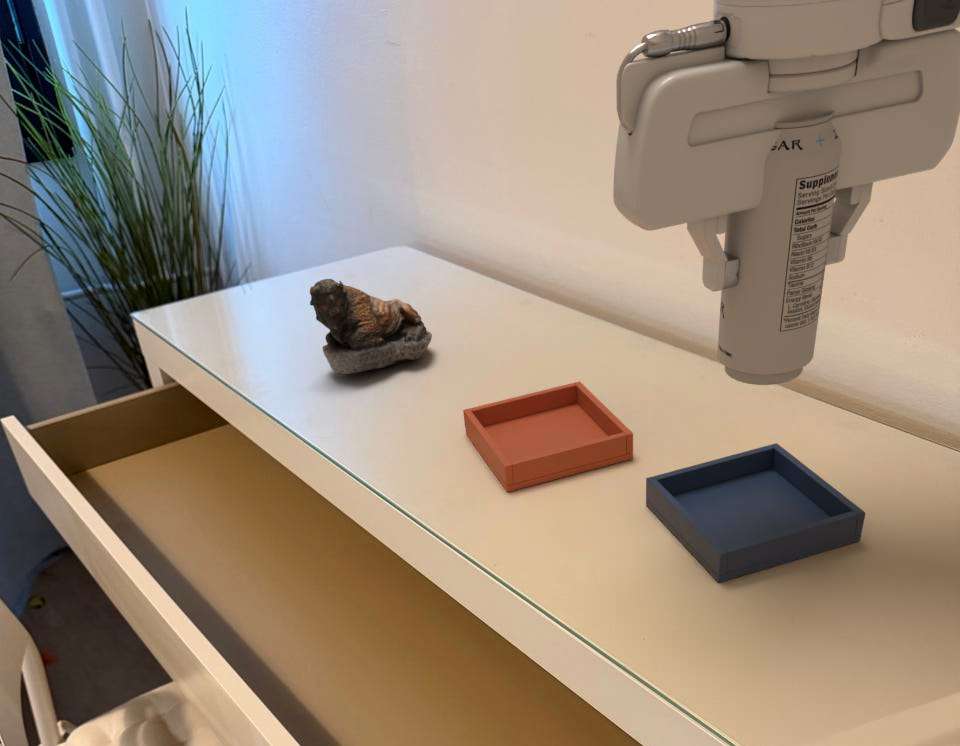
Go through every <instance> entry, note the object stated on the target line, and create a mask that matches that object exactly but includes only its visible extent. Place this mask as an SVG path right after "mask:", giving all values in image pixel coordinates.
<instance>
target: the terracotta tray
mask: <svg viewBox="0 0 960 746" xmlns="http://www.w3.org/2000/svg"><path fill="white" fill-rule="evenodd" d="M462 413H463V421H464V428H465V435H466V436H467V437H468V439H469V440H470V441H471V443H472V445H473V446H474V448H475V449H476V450H477V452H478V453H479V454H480V456H481V457H482V458H483V460H484V461H485V462H486V465H488V467H489V468H490V469H491V471H492V472H493V474H494V475H495V477H496V478H497V479H498V481H499V482H500V484H501V485H502V487H503V488H504V489H505V491H506V492H507V493H509V492H513V491H517V490H520V489H524V488H528V487H532V486H536V485H539V484H540V485H541V484H544V483H547V482H551V481H555V480H559V479H563V478H566V477H569V476H573V475H577V474H581V473H585V472H589V471H592V470H597V469H600V468H603V467H607V466H611V465H615V464H619V463H622V462H626V461H630V460H633V459H634V432H632V431H631V430H630V429H629V427H627V425H625V424H624V423H623V422H622V421H621V420H620V419H619V418H618V417H617V416H616V415H615V414H614V413H613V412H612V411H611V410H610V409H609V408H608V407H606V405H605V404H603V402H601V401H600V400H599V398H597V397H596V396H595V394H593V393H592V392H591V391H590V390H589V389H588V388H587V387H586V386H585V384H583V383H582V382H581V381H576V382H571V383H566V384H564V385H563V384H562V385H559V386H555V387H551V388H547V389H543V390H539V391H535V392H531V393H527V394H526V393H525V394H522V395H519V396H514V397H511V398H507V399H502V400H498V401H493V402H490V403H486V404H482V405H478V406H473V407H470V408H465V409H463V410H462Z"/></svg>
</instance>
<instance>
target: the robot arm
mask: <svg viewBox="0 0 960 746" xmlns="http://www.w3.org/2000/svg"><path fill="white" fill-rule="evenodd" d="M712 12H713V13H712V14H713V15H712V20H708V21H703V22H699V23H694V24H690V25H687V26H685V27H682V28H677V29H672V30H669V29H659V30H655V31H652V32H648V33H647V34H644V35H643V36H642V37H641V38H642V39H641V41H640V43H639V44H637V45H635V46H634V47H633V48H632V49H630V50H629V52H627V54H626V55H625V56H624V58H623V60H622V62H621V64H620V65H619V67H618V70H617V73H616V81H615V82H616V84H615V85H616V113H617V117H618V120H619V124H618V130H617V138H616V144H615V147H616V148H615V157H614V168H613V184H612V185H613V186H612V187H613V188H612V190H613V191H612V194H613V195H612V198H613V203H614V204H613V205H614V206H615V208H616V210H617V211H618V212H619V213H620V215H622V217H623V218H624V219H626V221H628V222H630V223H631V224H633V225H634V226H636V227H638V228H640V229H642V230H645V231H648V232H650V231H657V230H662V229H666V228H670V227H675V226H679V225H684V224H686V230H687V232H688V234H689V235H690V237H691V239H692V241H693V243H694V245H695V246H696V248H697V250H698V253H700V255H701V256H702V275H701V279H702V284H703V286H704V287H705V288H706V289H707V290H710V291H711V292H714V293H715V292H721V290H723V289H727V288H731V287H735V286H737V284H738V276H737V275H736V274H737V273H738V271H739V264H740V259H739V258H737V257H735V256H732V255H730V254H729V253H728V252H726V251H724V248H723V247H722V244H721V242H720V240H719V238H718V236H717V235H722V234H725V231H726V222H727V214H730V213H735V212H739V211H744V210H748V209H753V208H756V207H758V206H759V205H760V202H761V198H762V195H763V182H764V167H765V160H766V158H767V156H768V154H769V152H770V151H771V149H772V147H773V146H774V144H775V142H776V141H777V139H778V137H779V135H780V133H781V129H775V128H774V124H775V123H786V122H790V121H795V120H800V119H805V118H810V117H815V116H820V115H826V114H829V115H830V114H831V113H832V112H833V111H834V116H833V118H832V119H831V123H832V126H833V128H834V130H835V131H836V133H837V135H838V137H839V139H840V142H841V145H842V147H841V154H840V161H839V169H838V176H837V184H836V191H835V199H834V206H833V213H832V221H831V228H830V236H829V243H828V251H827V258H826V265H825V267H826V266H830V265H834V264H839V263H842V262H843V261H844V259H845V257H846V251H847V245H848V244H847V243H848V238H849V234H851V232H852V231H853V230H854V228H855V226H856V225H857V223H858V221H859V220H860V218H861V217H862V215H863V213H864V212H865V210H866V209H867V207H868V205H869V204H870V202H871V197H872V192H873V185H874V183H876V182H880V181H885V180H889V179H894V178H898V177H903V176H908V175H912V174H917V173H922V172H927V171H931V170H933V169H935V168H936V167H937V166H938V165H939V164H940V163H941V162H942V160H943V159H944V157H945V156H946V155H947V153H948V152H949V151H950V149H951V147H952V145H953V143H954V139H955V136H956V132H957V127H958V123H959V118H960V31H959V30H958V28H960V0H713V11H712ZM640 54H642V55H643V58H638V59H635V58H636V57H638V56H639V55H640Z"/></svg>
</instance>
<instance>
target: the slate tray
mask: <svg viewBox="0 0 960 746" xmlns="http://www.w3.org/2000/svg"><path fill="white" fill-rule="evenodd" d="M645 506H647V508H648V509H649V510H650V511H651V512H652V513H653V514H654V515H655V517H657V518H658V519H659V521H661V523H662V524H663V525H664V526H665V527H666V528H667V529H668V530H669V531H670V532H671V533H672V534H673V536H674V537H675V538H676V539H677V540H678V541H679V542H680V543H681V544H682V546H684V547H685V548H686V549H687V551H688V552H689V553H690V554H691V555H692V556H693V557H694V559H696V560H697V562H698V563H699V564H700V565H701V566H702V567H703V568H704V569H705V570H706V571H707V573H709V575H710V576H711V577H713V579H714V580H715V581H716V582H717V583H722V582H726V581H730V580H732V579H737V578H740V577H743V576H746V575H749V574H753V573H757V572H760V571H763V570H766V569H769V568H770V569H771V568H773V567H776V566H780V565H783V564H786V563H790V562H793V561H796V560H800V559H803V558H807V557H810V556H814V555H817V554H820V553H824V552H828V551H830V550H834V549H837V548H841V547H844V546H847V545H848V546H849V545H851V544H854V543H859V542H860V541H861V538H862V533H863V528H864V523H865V517H866V512H865V511H864V509H862V508H861V507H859V506H858V505H857V504H855V503H854V502H853V501H851V500H850V499H849V498H847V497H846V496H845V495H844V494H843V493H841V492H840V491H839V490H837V489H836V488H835V487H834V486H833V485H831V484H830V483H829V482H827V481H826V480H825V479H823V478H822V477H820V475H818V474H817V473H815V471H813V470H812V469H811V468H810V467H808V466H807V465H805V464H804V463H803V462H801V461H800V460H799V459H797V458H796V457H795V456H794V455H793V454H792V453H790V452H789V451H788V450H786V449H785V448H784V447H782V446H781V445H780V444H779V443H776V442H775V443H772V444H768V445H765V446H760V447H757V448H754V449H750V450H745V451H742V452H739V453H735V454H732V455H728V456H723V457H719V458H717V459H716V458H715V459H712V460H708V461H706V462H702V463H698V464H694V465H690V466H687V467H683V468H680V469H675V470H672V471H668V472H664V473H661V474H660V473H659V474H657V475H654V476H653V475H652V476H649V477H646V478H645Z"/></svg>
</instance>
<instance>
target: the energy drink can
mask: <svg viewBox="0 0 960 746" xmlns="http://www.w3.org/2000/svg"><path fill="white" fill-rule="evenodd" d="M833 116H834V111H833V112H832V113H831V114H830V115H829V114H826V115H820V116H815V117H810V118H805V119H800V120H795V121H790V122H786V123H775V124H774V128H775V129H781V133H780V135H779V137H778V139H777V141H776V142H775V144H774V146H773V147H772V149H771V151H770V152H769V154H768V156H767V158H766V160H765V167H764V182H763V195H762V198H761V202H760V205H759V206H758V207H756V208H753V209H748V210H744V211H739V212H735V213H730V214H727V222H726V231H725V233H724V244H723V251H726V252H728V253H729V254H730V255H732V256H735V257H737V258H739V259H740V264H739V271H738V273H737V274H736V275H737V276H738V284H737V286H735V287H731V288H727V289H723V290H720V306H719V307H720V308H719V321H718V339H717V351H716V356H717V359H718V361H719V362H720V363H721V364H722V365H723V366H724V372H725V373H726V375H727V376H728V377H730V378H731V379H733V380H735V381H737V382H740V383H743V384H747V385H755V386H771V385H781V384H784V383H787V382H790V381H793V380H795V379H797V378H798V377H799V376H800V375H802V372H803V371H804V367H806V366H808V365H809V364H810V363H811V362H812V360H813V358H814V354H815V346H816V338H817V331H818V324H819V317H820V311H821V310H820V308H821V302H822V295H823V288H824V287H823V286H824V279H825V273H826V272H825V271H826V266H827V265H826V258H827V251H828V243H829V236H830V228H831V221H832V213H833V206H834V202H835V200H836V198H835V191H836V184H837V176H838V169H839V161H840V154H841V147H842V145H841V142H840V139H839V137H838V135H837V133H836V131H835V130H834V128H833V126H832V123H831V119H832V118H833ZM825 265H826V266H825Z"/></svg>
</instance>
